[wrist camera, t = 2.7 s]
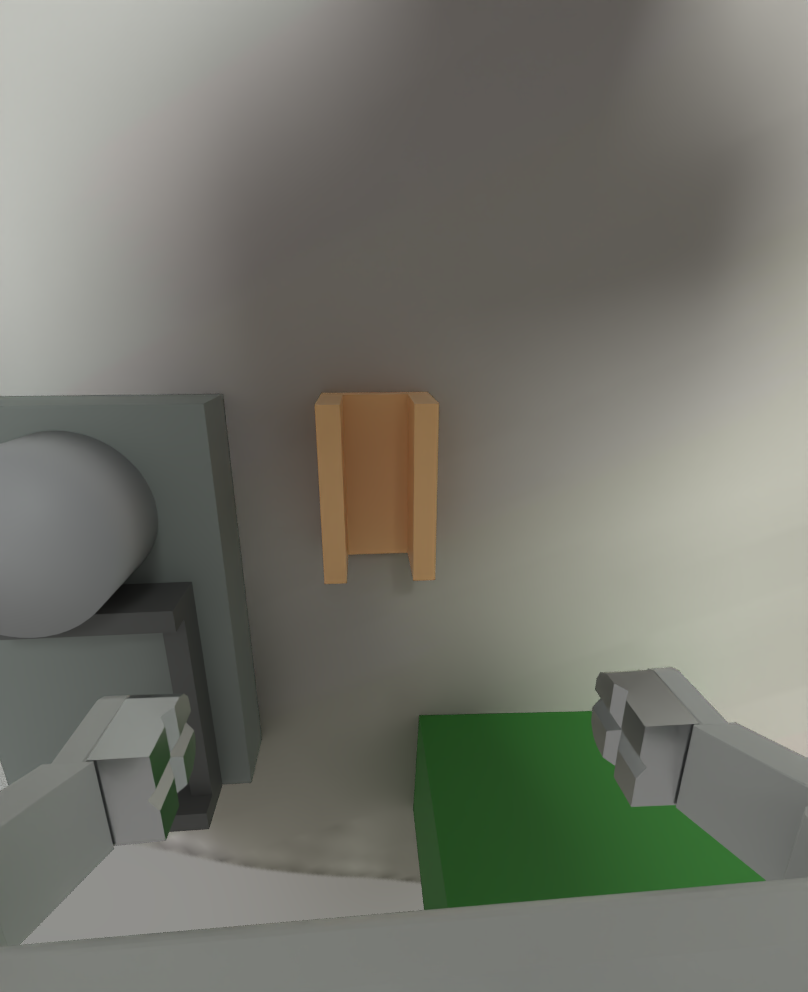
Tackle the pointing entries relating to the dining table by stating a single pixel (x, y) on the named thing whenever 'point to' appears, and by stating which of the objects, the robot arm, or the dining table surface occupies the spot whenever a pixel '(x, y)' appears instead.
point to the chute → (377, 478)
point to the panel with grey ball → (123, 579)
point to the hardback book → (543, 817)
